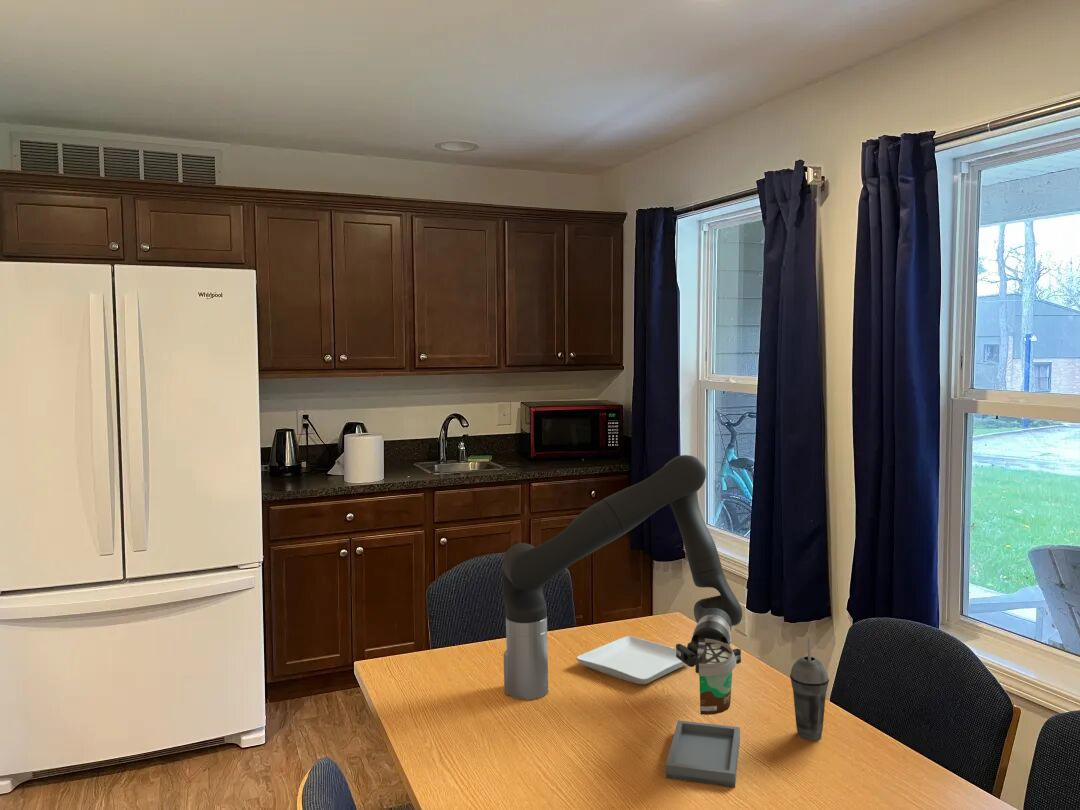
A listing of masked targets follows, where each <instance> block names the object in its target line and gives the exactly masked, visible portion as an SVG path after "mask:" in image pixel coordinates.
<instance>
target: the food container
mask: <svg viewBox="0 0 1080 810" xmlns="http://www.w3.org/2000/svg"><path fill="white" fill-rule="evenodd" d="M733 650H734V649H733V648H732V647H731V645H730V646H728V645H727V644H725V643H723V642H720V641H717V640H712V639H705V648H704V652H703V656H702V661H701V664H699V673H698V676H699V677H698V678H699V680H698V681H699V682H698V683H699V707H700V708H699V709H700V710H699V711H700V715H702V716H708V715H709V716H710V715H717V714H723V713H724V712H726V711H728V710H729V708H730V707H731V700H732V685H733V670H734V669H735V668H737V667H736V666H737V664H736V659H735V655H734V652H733Z"/></svg>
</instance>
